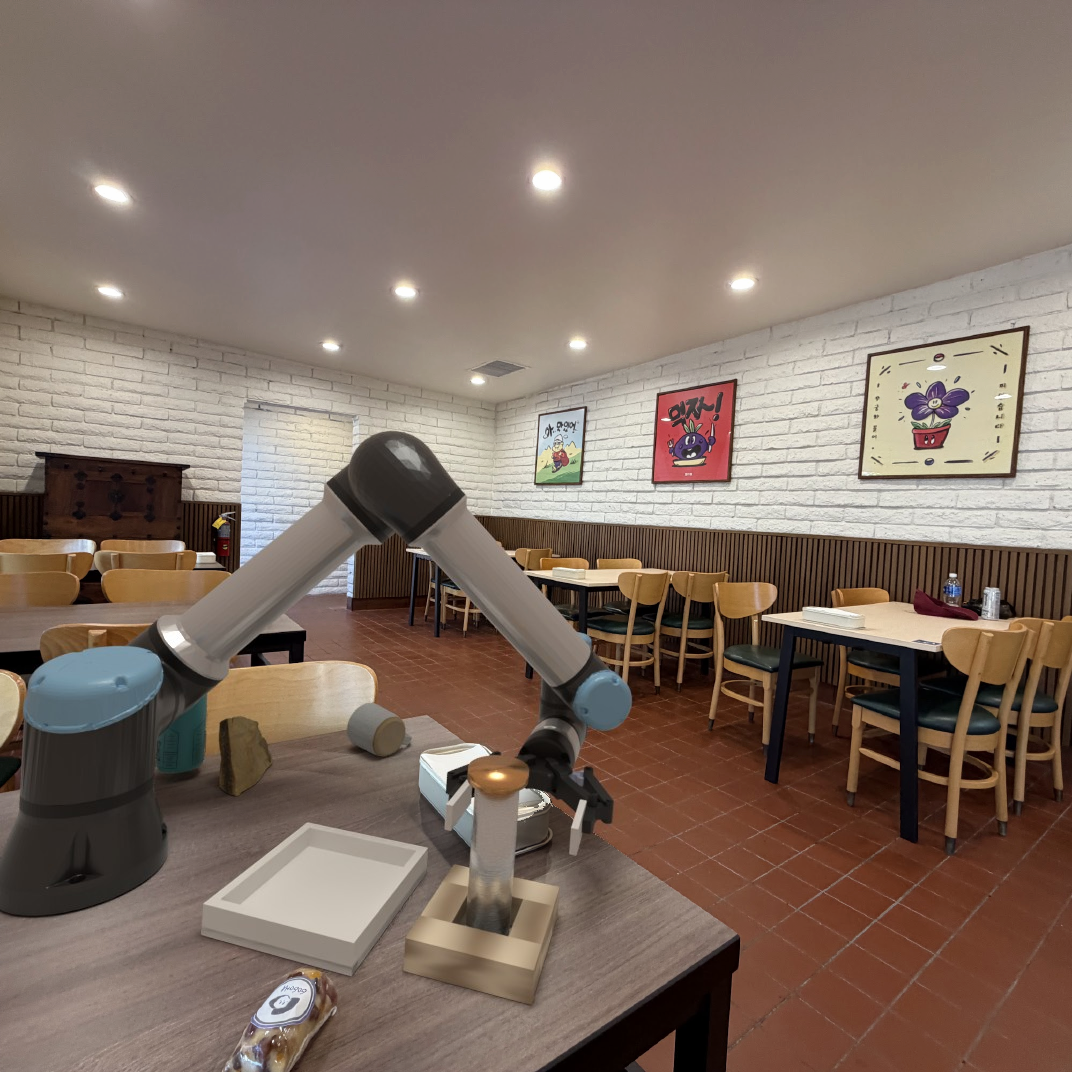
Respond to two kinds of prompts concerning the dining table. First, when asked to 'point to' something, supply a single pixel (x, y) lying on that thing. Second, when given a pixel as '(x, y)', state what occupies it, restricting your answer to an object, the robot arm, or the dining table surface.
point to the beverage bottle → (183, 741)
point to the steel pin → (493, 840)
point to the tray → (318, 897)
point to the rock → (241, 754)
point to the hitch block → (484, 940)
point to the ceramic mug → (377, 730)
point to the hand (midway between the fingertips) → (509, 829)
